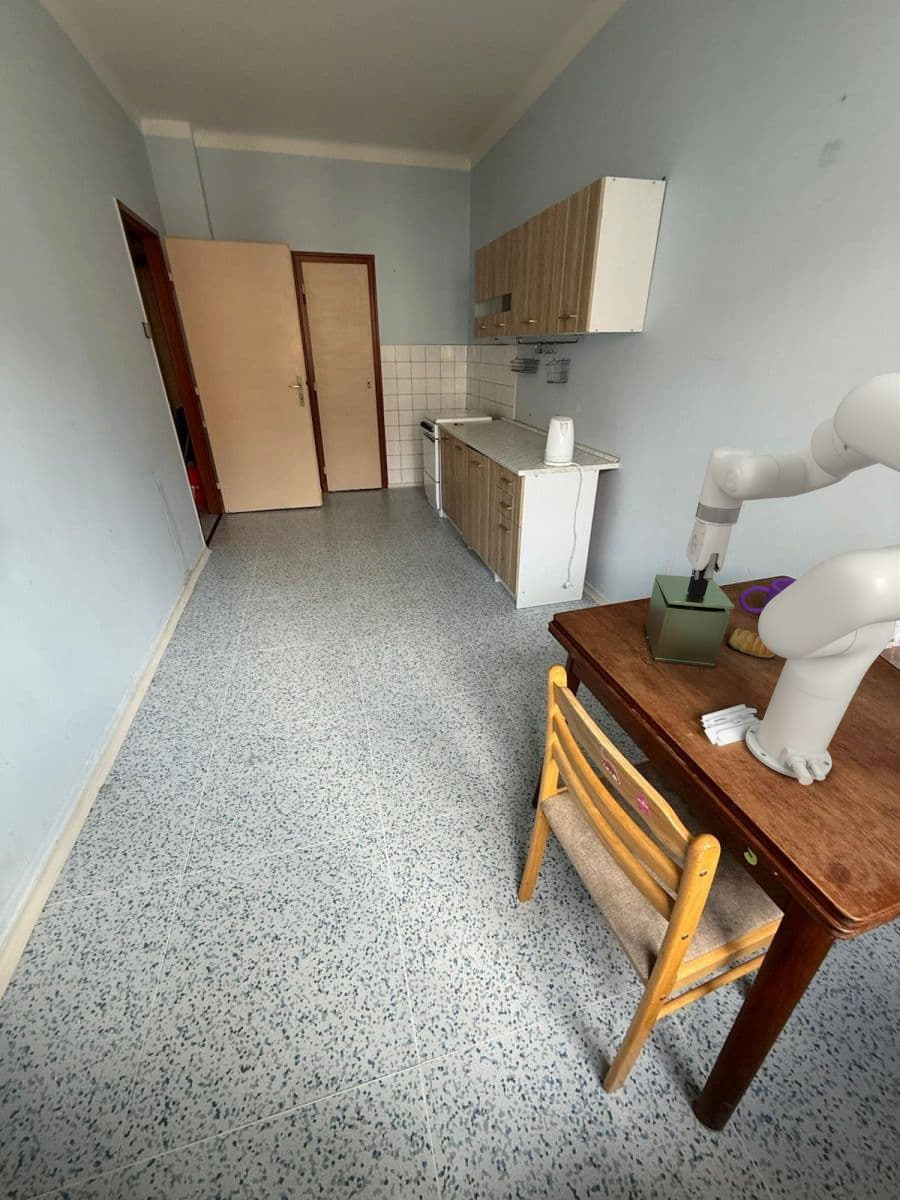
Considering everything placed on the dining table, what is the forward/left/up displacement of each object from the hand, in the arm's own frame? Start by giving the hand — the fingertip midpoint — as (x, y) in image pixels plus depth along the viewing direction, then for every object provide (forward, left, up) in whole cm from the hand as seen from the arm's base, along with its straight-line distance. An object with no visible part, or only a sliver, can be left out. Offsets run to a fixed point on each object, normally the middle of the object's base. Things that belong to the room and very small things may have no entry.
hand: (695, 594), depth 102 cm
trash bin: (+4, 0, -16) cm, 16 cm away
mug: (+21, -26, -16) cm, 37 cm away
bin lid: (+3, 0, -1) cm, 4 cm away
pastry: (+6, -16, -16) cm, 23 cm away
